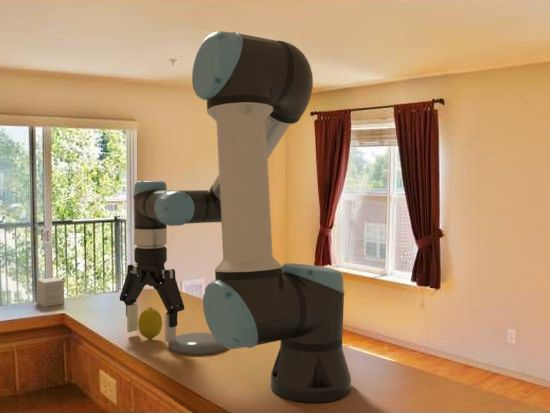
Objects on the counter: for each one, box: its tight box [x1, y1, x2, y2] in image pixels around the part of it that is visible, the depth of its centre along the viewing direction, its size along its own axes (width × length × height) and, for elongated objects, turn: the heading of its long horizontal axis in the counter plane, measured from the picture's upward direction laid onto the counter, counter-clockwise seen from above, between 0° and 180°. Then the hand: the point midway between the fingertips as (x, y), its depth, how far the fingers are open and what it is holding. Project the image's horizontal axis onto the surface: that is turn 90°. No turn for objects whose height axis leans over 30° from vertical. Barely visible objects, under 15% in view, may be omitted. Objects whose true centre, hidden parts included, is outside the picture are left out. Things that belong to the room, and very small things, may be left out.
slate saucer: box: [167, 332, 228, 356], centre depth 130 cm, size 14×14×1 cm
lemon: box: [138, 306, 163, 341], centre depth 134 cm, size 6×6×8 cm
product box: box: [36, 277, 65, 308], centre depth 168 cm, size 6×6×7 cm
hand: (151, 335), depth 134 cm, fingers open, 12 cm apart
